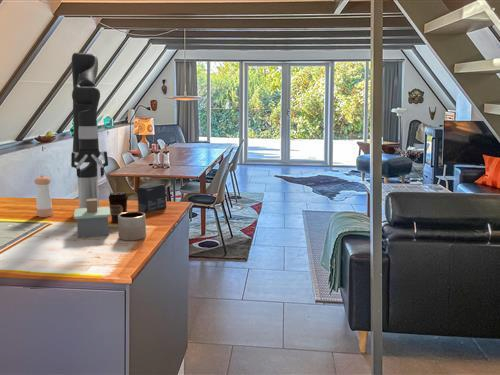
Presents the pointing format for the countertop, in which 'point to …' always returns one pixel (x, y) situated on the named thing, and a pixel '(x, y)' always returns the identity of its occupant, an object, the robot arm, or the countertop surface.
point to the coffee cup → (117, 204)
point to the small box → (151, 197)
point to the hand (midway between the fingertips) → (90, 177)
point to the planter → (131, 226)
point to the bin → (92, 227)
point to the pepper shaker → (43, 197)
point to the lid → (92, 211)
